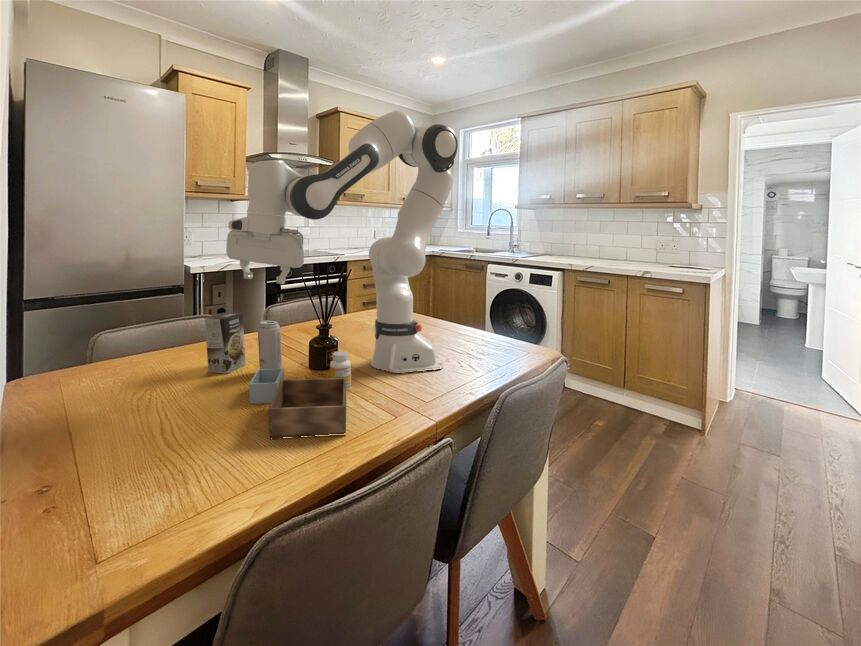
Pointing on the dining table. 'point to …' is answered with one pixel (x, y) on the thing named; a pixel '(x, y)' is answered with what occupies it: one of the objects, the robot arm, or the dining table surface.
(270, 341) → the energy drink can
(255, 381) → the small crate
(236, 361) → the coffee box
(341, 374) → the supplement bottle
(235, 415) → the dining table surface
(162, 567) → the dining table surface
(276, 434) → the large crate
